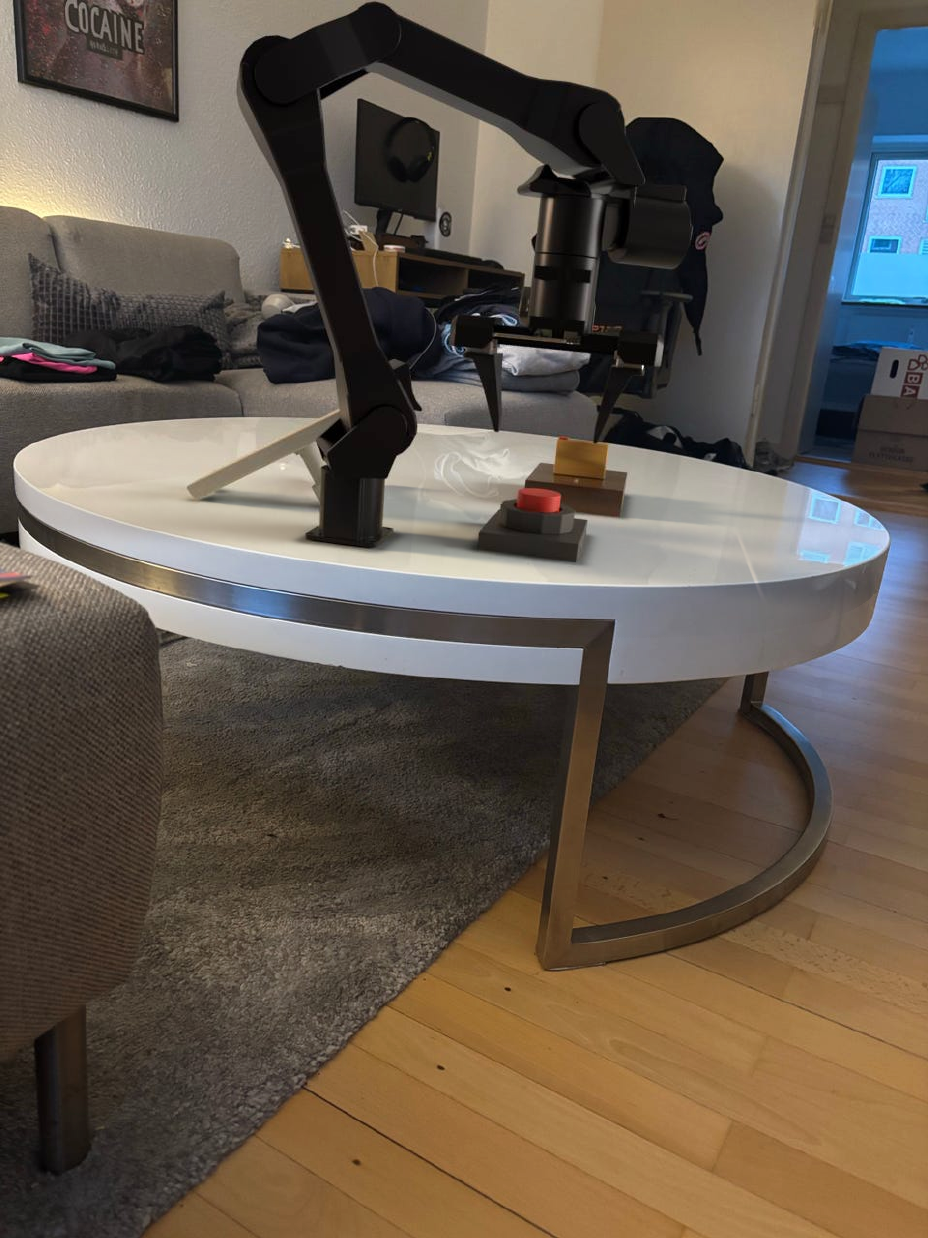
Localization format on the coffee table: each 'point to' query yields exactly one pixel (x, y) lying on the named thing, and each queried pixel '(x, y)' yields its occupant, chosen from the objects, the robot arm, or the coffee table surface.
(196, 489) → the door handle
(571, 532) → the button base
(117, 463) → the coffee table surface
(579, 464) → the upright gold plate
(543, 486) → the plate
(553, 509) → the bell button
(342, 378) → the robot arm
